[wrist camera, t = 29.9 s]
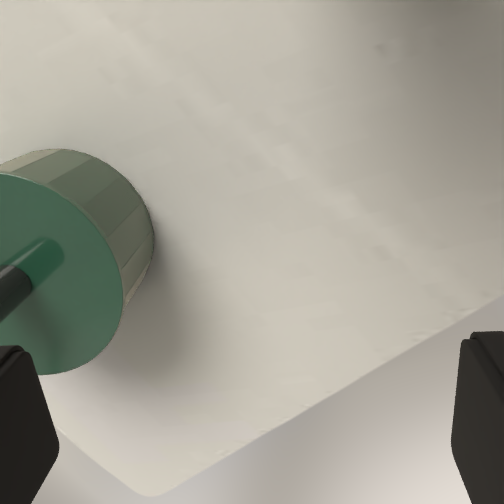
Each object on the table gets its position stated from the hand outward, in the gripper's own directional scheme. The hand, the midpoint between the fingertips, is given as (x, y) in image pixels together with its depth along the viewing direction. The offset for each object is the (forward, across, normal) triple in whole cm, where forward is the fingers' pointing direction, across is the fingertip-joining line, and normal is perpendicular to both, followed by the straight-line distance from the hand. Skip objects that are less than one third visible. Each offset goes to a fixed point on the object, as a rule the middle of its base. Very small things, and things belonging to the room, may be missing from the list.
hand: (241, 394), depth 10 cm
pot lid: (+19, +18, +6) cm, 27 cm away
